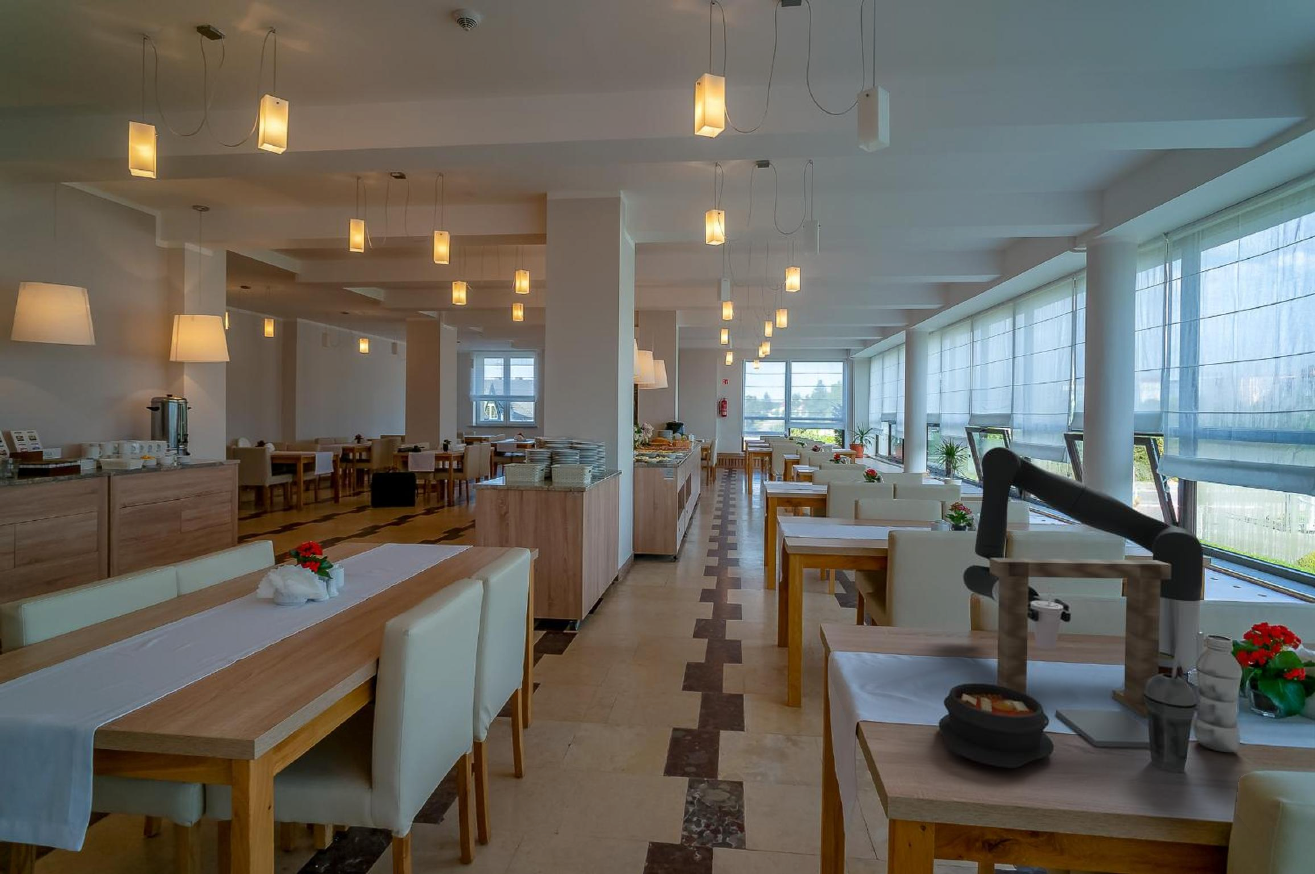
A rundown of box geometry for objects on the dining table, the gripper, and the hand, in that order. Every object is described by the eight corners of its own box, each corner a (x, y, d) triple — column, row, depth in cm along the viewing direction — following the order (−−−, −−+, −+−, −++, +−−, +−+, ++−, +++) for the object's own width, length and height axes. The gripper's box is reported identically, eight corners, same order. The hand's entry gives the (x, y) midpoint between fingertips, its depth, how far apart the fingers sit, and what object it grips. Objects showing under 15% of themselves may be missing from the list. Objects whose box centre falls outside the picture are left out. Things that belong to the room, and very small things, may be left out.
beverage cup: (1130, 755, 116) (1133, 642, 116) (1169, 753, 117) (1172, 641, 116) (1166, 777, 109) (1169, 657, 108) (1207, 775, 110) (1210, 656, 109)
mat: (1122, 715, 132) (1122, 710, 132) (1169, 748, 119) (1170, 742, 119) (1055, 714, 132) (1055, 709, 132) (1095, 746, 119) (1095, 740, 119)
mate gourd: (1169, 686, 147) (1170, 619, 147) (1192, 701, 139) (1194, 630, 139) (1132, 684, 148) (1134, 617, 148) (1153, 698, 140) (1155, 628, 140)
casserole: (1040, 792, 105) (1041, 740, 104) (919, 754, 116) (920, 707, 116) (1063, 734, 124) (1064, 690, 124) (958, 707, 136) (958, 666, 135)
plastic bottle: (1228, 742, 121) (1231, 634, 121) (1247, 760, 115) (1251, 645, 114) (1186, 736, 123) (1189, 630, 123) (1202, 753, 117) (1205, 641, 116)
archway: (1143, 697, 141) (1147, 557, 140) (1178, 718, 131) (1182, 567, 130) (980, 693, 142) (983, 554, 142) (1002, 713, 132) (1005, 565, 132)
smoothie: (1067, 653, 144) (1068, 589, 144) (1035, 651, 146) (1036, 588, 145) (1056, 643, 151) (1057, 582, 150) (1025, 641, 152) (1026, 580, 151)
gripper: (985, 580, 162) (1019, 599, 146) (1045, 581, 162) (1086, 600, 145) (984, 611, 163) (1018, 633, 146) (1044, 612, 162) (1085, 634, 145)
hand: (1052, 617), depth 145 cm, fingers closed on smoothie, 6 cm apart
